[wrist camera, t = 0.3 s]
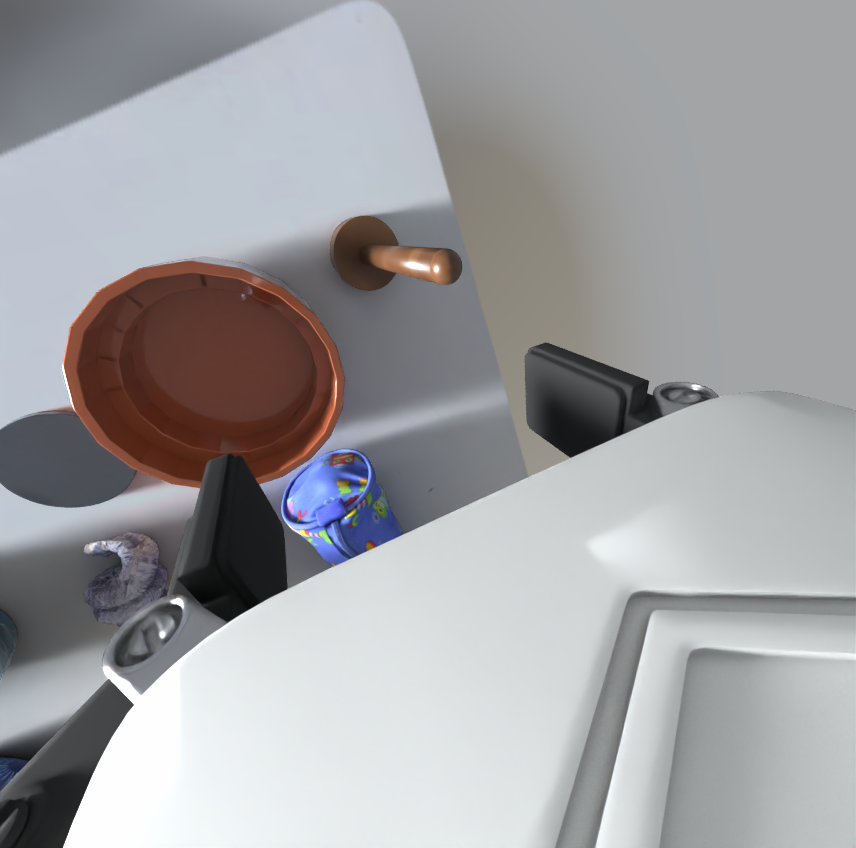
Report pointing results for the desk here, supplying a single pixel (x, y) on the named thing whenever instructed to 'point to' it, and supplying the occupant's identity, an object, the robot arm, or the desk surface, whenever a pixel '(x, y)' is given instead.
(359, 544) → the pencil case
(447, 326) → the desk surface
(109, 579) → the seashell
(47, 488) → the grey round base
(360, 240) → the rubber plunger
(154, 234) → the desk surface
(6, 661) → the canister
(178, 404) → the mixing bowl
